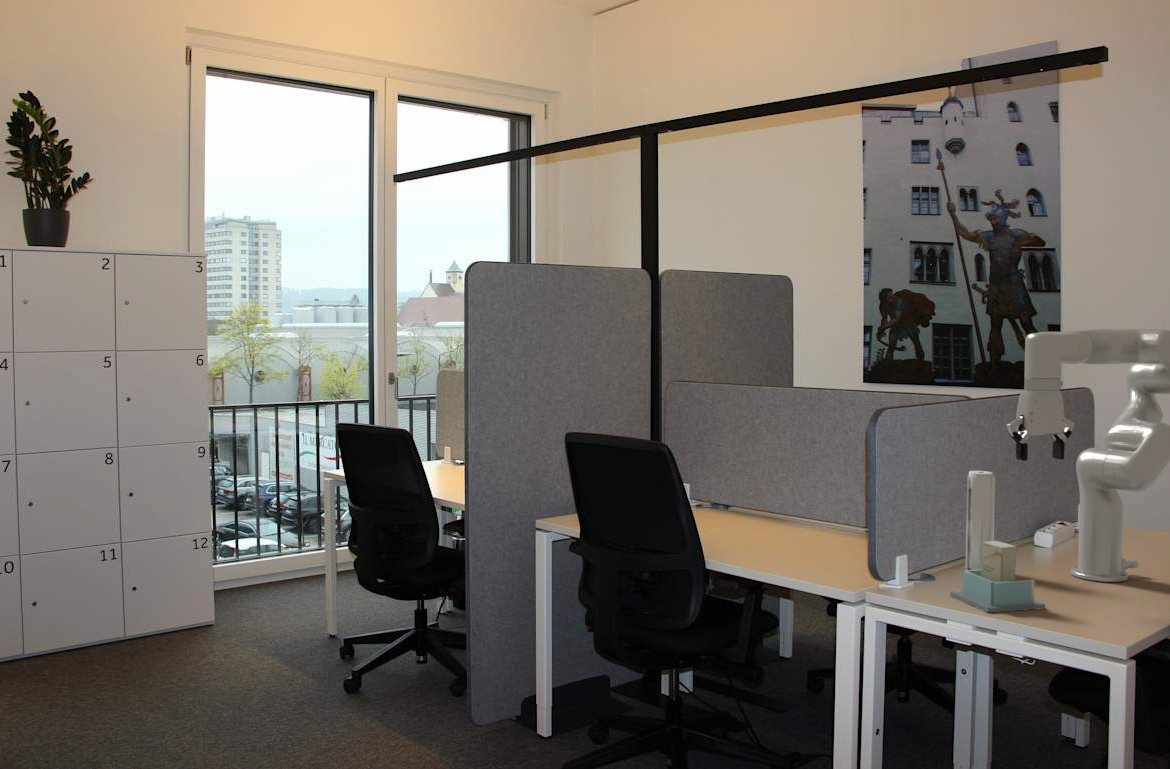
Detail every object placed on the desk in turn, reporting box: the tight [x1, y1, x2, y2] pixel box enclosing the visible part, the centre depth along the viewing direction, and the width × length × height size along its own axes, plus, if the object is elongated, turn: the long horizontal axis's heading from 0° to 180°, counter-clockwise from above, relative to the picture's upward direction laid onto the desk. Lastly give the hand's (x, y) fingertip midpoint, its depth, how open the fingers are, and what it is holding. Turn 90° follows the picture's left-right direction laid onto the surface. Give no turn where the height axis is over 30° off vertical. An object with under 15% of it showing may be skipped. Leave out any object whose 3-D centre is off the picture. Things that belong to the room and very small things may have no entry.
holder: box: [949, 569, 1046, 613], centre depth 222 cm, size 14×14×6 cm
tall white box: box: [965, 470, 996, 570], centre depth 251 cm, size 6×6×25 cm
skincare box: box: [981, 540, 1017, 582], centre depth 222 cm, size 6×4×12 cm
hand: (1040, 459), depth 233 cm, fingers open, 9 cm apart
